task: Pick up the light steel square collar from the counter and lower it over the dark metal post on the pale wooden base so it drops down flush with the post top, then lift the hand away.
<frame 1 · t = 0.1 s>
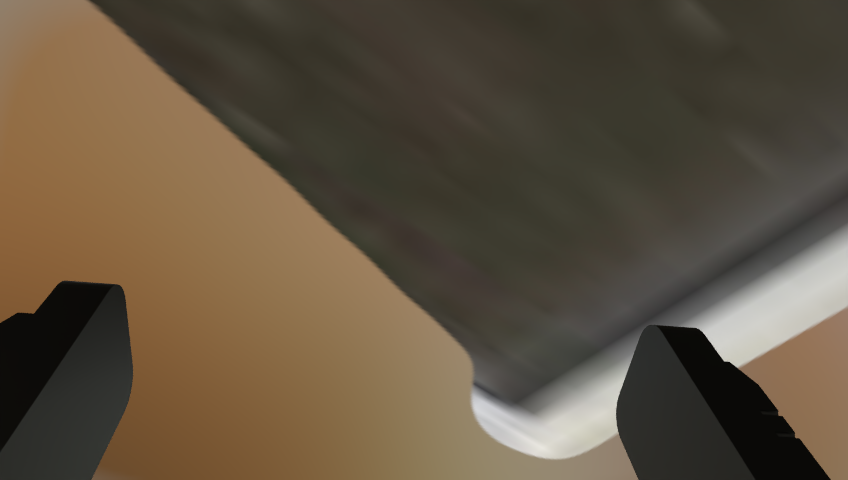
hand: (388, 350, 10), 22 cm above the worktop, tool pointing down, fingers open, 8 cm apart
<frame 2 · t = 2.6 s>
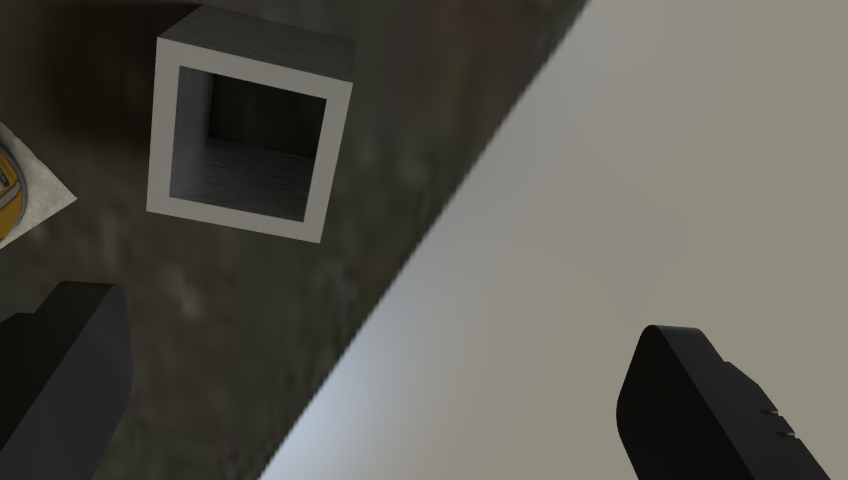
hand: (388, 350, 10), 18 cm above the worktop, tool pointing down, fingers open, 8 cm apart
steel collar: (270, 96, 27), on the worktop
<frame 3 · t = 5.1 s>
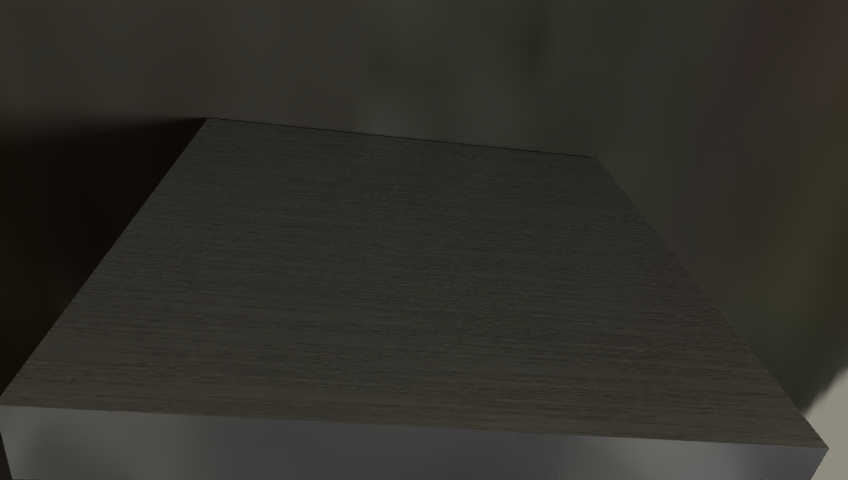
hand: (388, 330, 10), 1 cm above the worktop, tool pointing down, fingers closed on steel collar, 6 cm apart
steel collar: (389, 301, 11), on the worktop, touching gripper
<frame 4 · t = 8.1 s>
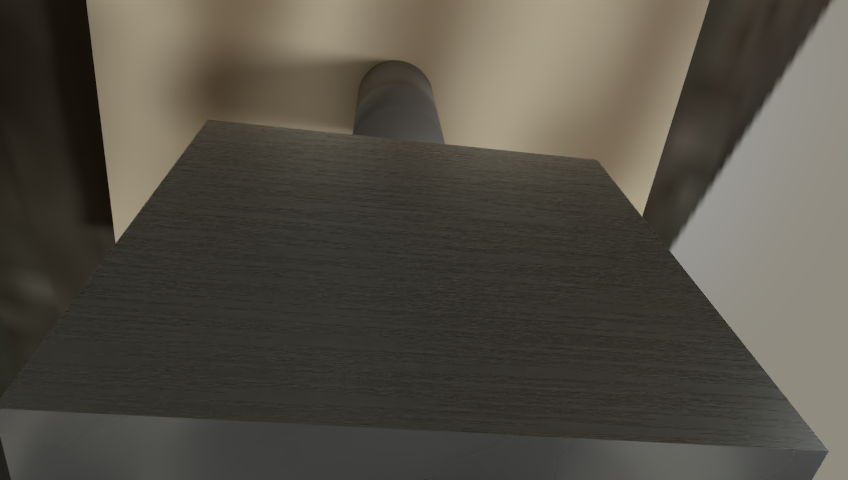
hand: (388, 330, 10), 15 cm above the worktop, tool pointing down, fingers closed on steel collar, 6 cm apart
hub base: (394, 83, 24), on the worktop
steel collar: (388, 302, 11), point 15 cm above the worktop, touching gripper
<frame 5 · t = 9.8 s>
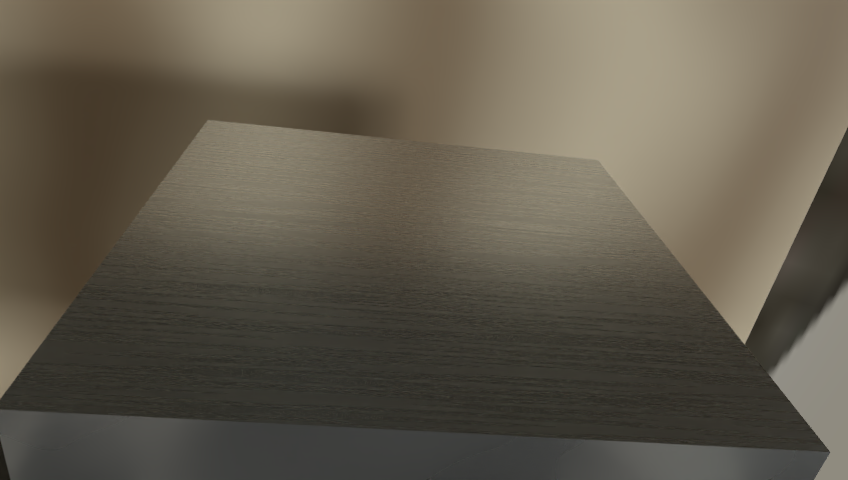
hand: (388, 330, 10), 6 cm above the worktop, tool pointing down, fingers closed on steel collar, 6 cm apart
hub base: (367, 183, 16), on the worktop
steel collar: (389, 302, 11), point 5 cm above the worktop, touching gripper
when the fingers open (4 cm above the worktop, at t = 11.2 s): steel collar drops 1 cm, resting on hub base.
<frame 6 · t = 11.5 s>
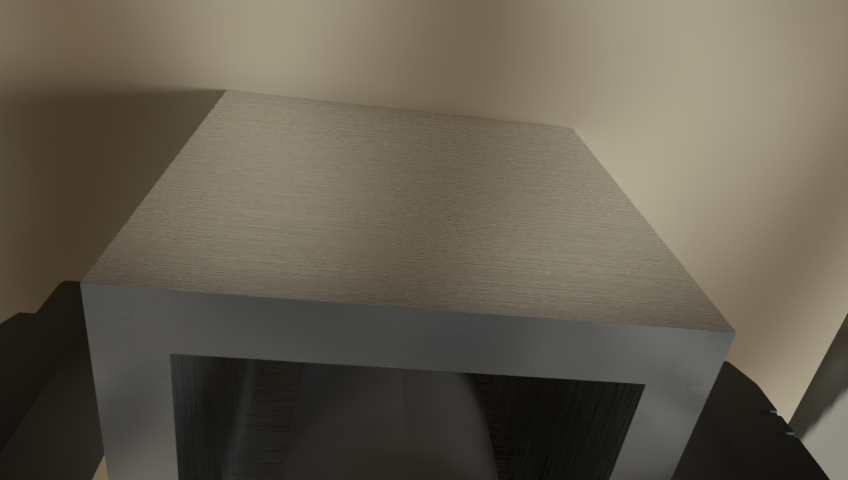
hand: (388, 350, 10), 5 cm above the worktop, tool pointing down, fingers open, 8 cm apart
hub base: (386, 214, 14), on the worktop
steel collar: (387, 258, 12), point 2 cm above the worktop, touching hub base
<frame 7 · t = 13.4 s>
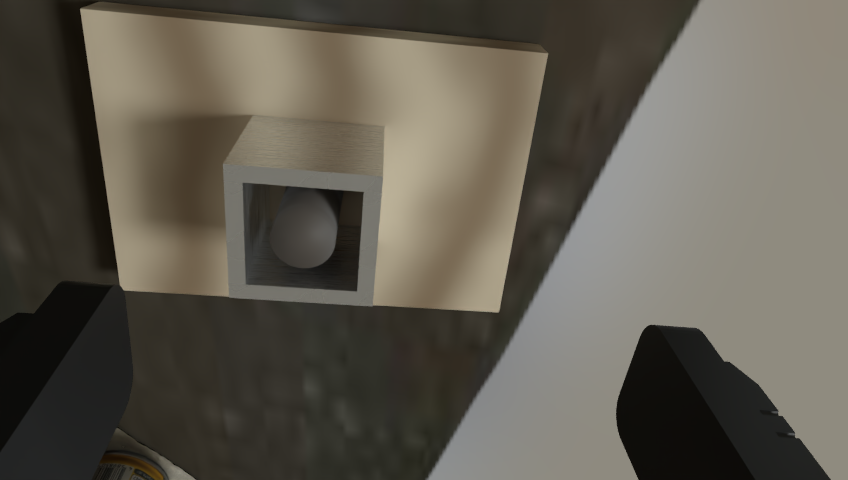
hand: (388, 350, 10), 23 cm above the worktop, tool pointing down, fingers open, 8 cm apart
hub base: (321, 165, 33), on the worktop
condiment: (116, 470, 43), on the worktop
steel collar: (317, 180, 31), point 2 cm above the worktop, touching hub base
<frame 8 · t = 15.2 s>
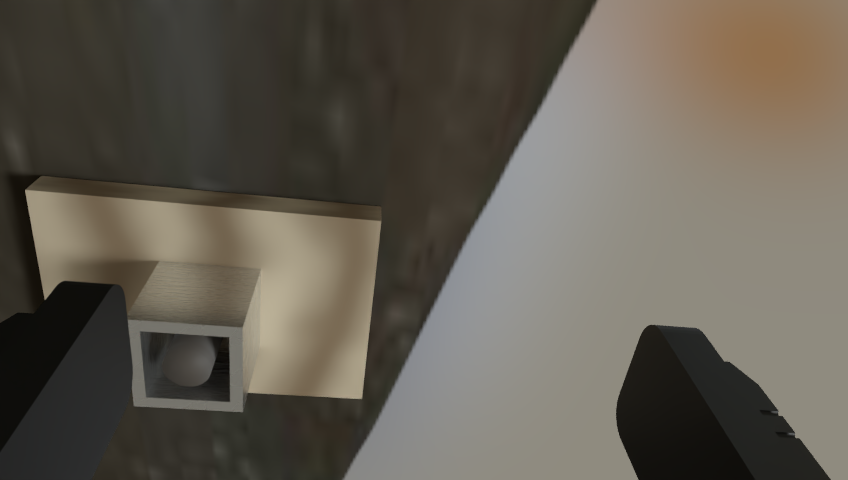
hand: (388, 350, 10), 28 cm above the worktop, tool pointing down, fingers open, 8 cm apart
hub base: (218, 288, 42), on the worktop
steel collar: (211, 305, 40), point 2 cm above the worktop, touching hub base
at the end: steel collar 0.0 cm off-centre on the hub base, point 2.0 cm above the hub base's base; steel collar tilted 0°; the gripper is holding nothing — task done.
